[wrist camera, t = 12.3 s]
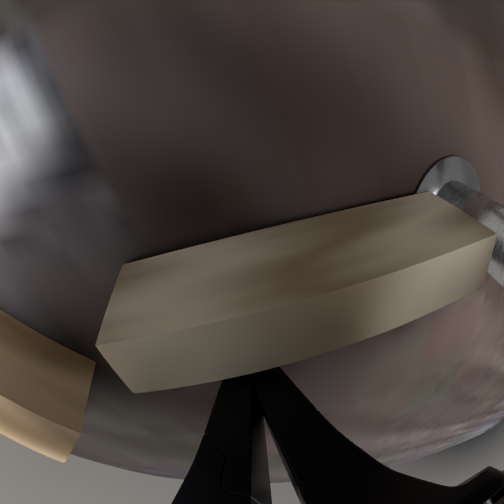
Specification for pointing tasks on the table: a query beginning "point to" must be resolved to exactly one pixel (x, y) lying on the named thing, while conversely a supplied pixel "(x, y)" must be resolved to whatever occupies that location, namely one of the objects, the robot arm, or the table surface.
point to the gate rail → (289, 291)
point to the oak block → (41, 390)
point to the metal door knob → (468, 201)
